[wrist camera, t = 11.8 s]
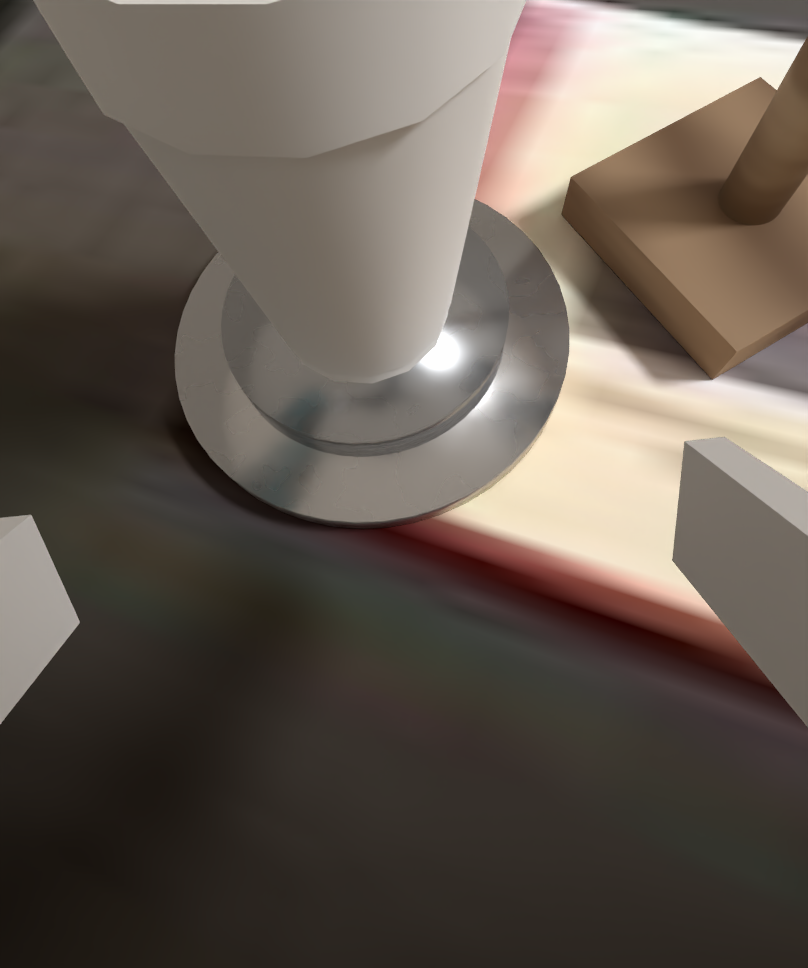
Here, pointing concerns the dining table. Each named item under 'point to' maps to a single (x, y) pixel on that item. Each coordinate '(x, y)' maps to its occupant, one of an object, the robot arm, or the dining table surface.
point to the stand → (711, 220)
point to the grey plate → (380, 393)
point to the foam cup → (312, 149)
